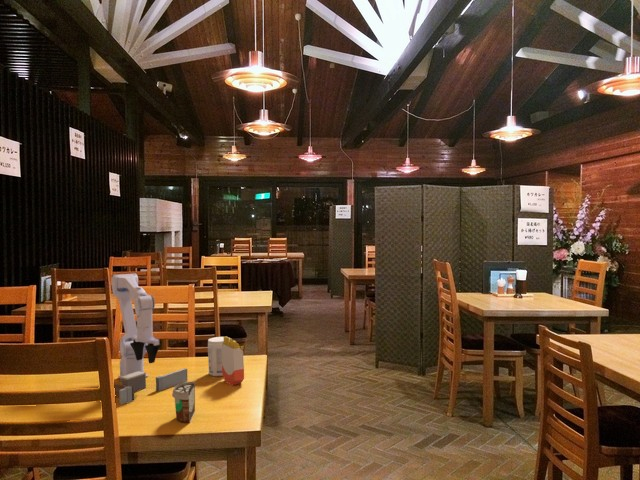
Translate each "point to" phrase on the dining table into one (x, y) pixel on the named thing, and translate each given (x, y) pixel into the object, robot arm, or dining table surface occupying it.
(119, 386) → the door
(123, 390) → the wall
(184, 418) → the food container
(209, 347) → the supplement tub
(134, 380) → the block
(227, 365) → the french fries container
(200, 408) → the dining table surface
